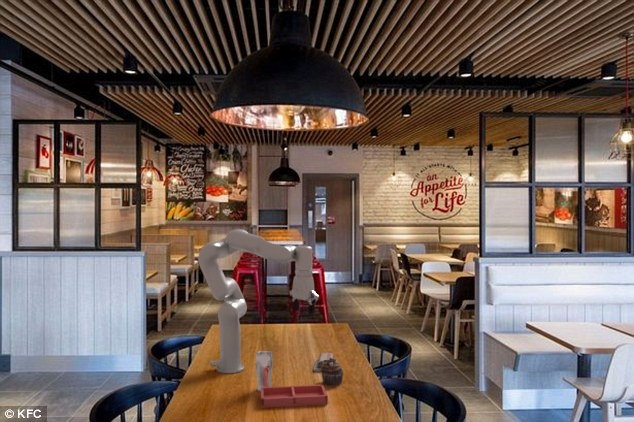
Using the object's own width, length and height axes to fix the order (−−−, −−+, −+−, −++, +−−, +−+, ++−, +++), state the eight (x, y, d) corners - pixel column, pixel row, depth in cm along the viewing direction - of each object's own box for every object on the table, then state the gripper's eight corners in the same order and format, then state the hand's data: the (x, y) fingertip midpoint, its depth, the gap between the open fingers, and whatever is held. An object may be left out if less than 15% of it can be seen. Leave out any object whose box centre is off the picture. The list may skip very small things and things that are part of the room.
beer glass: (259, 393, 210) (259, 356, 210) (253, 388, 216) (253, 352, 216) (275, 390, 213) (275, 354, 213) (268, 385, 219) (268, 350, 219)
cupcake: (336, 387, 217) (336, 363, 217) (316, 383, 222) (316, 360, 222) (347, 381, 225) (347, 358, 225) (328, 377, 230) (328, 354, 230)
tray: (261, 407, 195) (261, 399, 195) (260, 395, 208) (260, 387, 208) (327, 404, 198) (327, 396, 198) (323, 392, 211) (323, 384, 211)
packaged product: (316, 351, 256) (336, 351, 256) (316, 361, 256) (336, 361, 256) (313, 361, 238) (335, 362, 238) (313, 372, 238) (335, 373, 238)
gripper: (284, 272, 237) (284, 310, 237) (312, 276, 225) (311, 316, 225) (296, 271, 243) (295, 308, 243) (323, 274, 231) (323, 313, 231)
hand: (303, 311), depth 234 cm, fingers open, 9 cm apart
